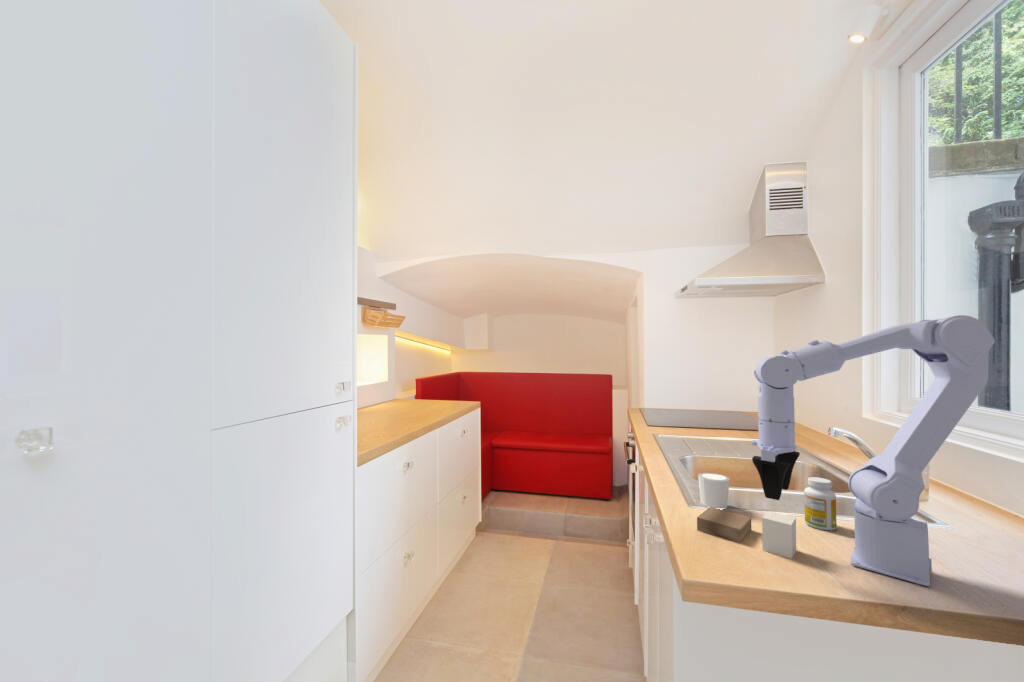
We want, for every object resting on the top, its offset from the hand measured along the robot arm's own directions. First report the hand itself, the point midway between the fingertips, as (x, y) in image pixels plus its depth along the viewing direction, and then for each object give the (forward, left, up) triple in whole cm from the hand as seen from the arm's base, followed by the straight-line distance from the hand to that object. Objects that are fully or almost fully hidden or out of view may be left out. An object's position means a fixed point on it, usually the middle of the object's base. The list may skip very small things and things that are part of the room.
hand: (777, 493), depth 75 cm
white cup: (+16, -15, -11) cm, 24 cm away
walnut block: (+10, -2, -11) cm, 15 cm away
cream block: (0, 0, -10) cm, 10 cm away
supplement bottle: (-4, -19, -11) cm, 22 cm away
